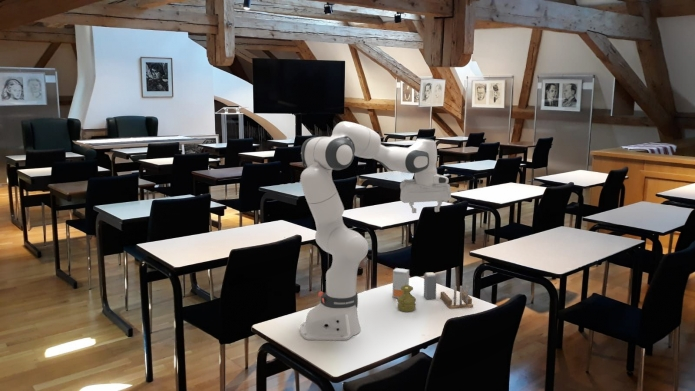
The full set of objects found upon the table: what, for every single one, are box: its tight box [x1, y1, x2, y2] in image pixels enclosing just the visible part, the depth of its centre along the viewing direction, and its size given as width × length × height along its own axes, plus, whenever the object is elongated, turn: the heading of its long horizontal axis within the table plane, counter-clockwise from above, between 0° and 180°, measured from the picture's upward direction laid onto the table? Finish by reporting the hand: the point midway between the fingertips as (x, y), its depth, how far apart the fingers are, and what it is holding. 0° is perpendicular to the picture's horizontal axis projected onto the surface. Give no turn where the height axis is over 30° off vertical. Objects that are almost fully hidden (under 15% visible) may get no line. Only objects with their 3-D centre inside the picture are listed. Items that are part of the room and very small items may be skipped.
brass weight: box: [396, 284, 417, 313], centre depth 229 cm, size 7×7×10 cm
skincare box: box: [391, 267, 410, 298], centre depth 242 cm, size 6×4×12 cm
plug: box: [423, 272, 437, 300], centre depth 241 cm, size 4×4×11 cm
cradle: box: [439, 284, 474, 310], centre depth 235 cm, size 10×12×9 cm
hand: (425, 212), depth 230 cm, fingers open, 8 cm apart
